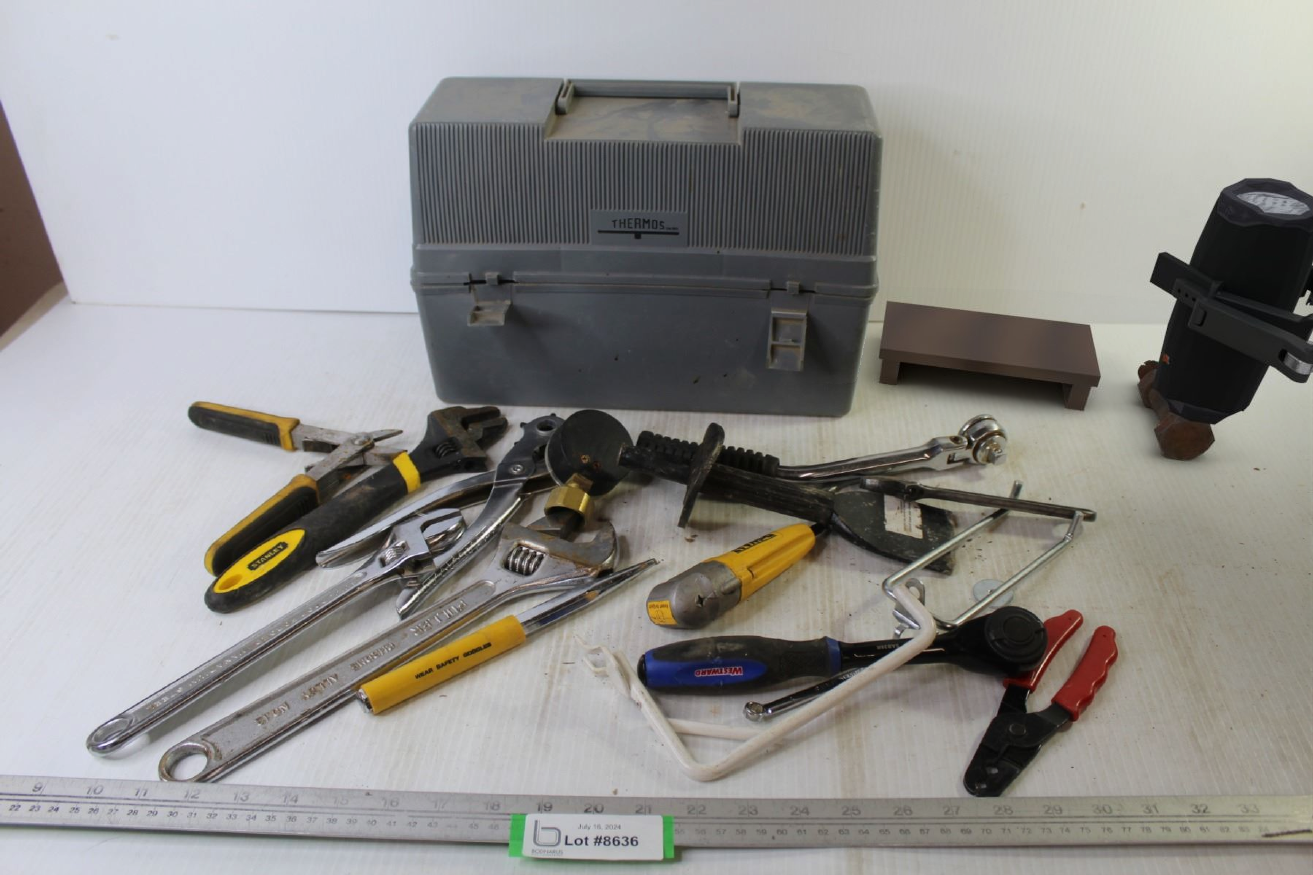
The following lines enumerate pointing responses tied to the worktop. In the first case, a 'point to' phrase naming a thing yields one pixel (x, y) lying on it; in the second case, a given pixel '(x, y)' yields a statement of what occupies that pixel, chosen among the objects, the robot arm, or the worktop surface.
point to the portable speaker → (1251, 266)
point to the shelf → (990, 346)
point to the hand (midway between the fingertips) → (1202, 259)
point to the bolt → (1173, 421)
